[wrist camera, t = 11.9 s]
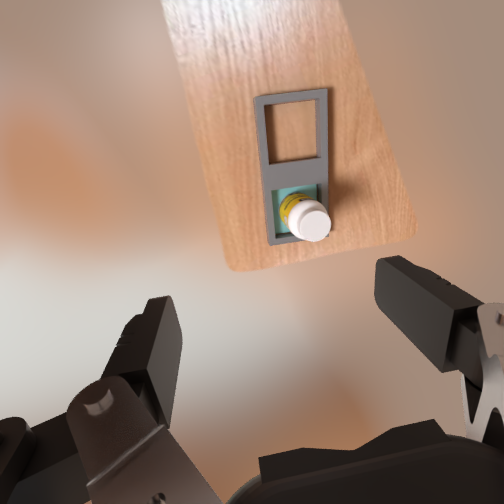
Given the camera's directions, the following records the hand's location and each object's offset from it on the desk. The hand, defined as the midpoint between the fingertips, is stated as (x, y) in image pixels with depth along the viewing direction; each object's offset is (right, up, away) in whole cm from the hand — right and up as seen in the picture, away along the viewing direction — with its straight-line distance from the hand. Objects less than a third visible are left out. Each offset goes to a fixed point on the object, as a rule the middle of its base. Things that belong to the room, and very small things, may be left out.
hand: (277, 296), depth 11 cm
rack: (+5, +13, +30) cm, 33 cm away
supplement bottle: (+6, +8, +32) cm, 34 cm away
